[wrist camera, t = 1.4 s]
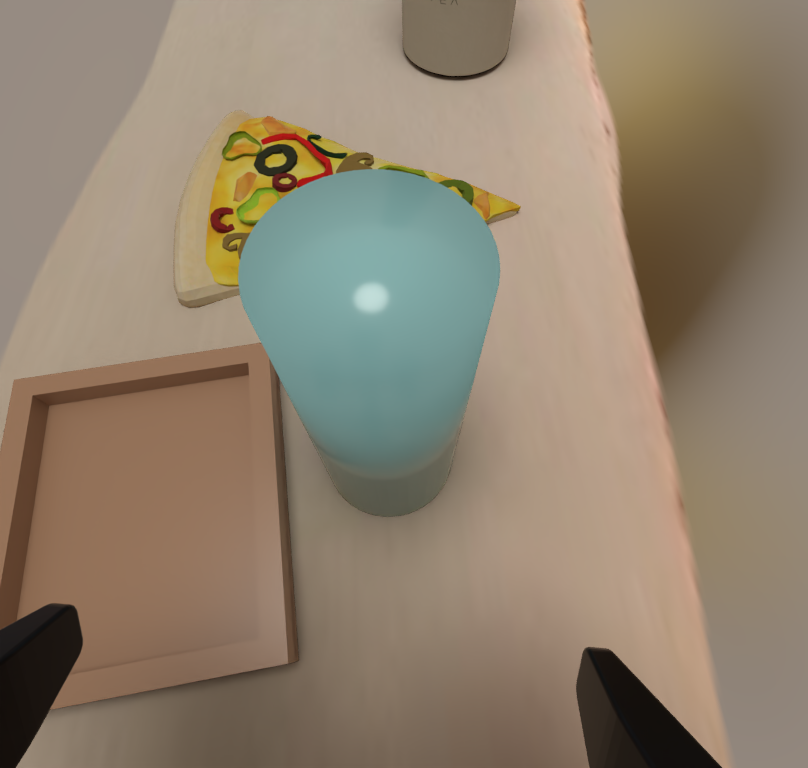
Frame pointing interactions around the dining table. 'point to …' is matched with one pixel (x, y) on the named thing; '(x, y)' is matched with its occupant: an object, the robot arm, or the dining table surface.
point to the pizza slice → (265, 195)
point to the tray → (152, 518)
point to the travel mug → (456, 34)
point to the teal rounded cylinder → (374, 324)
